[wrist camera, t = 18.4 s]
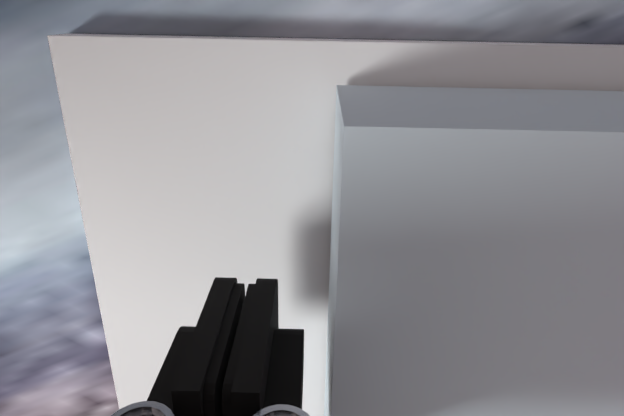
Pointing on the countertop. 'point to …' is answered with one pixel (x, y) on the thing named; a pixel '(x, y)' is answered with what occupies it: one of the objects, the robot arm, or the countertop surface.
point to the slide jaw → (476, 253)
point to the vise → (241, 166)
